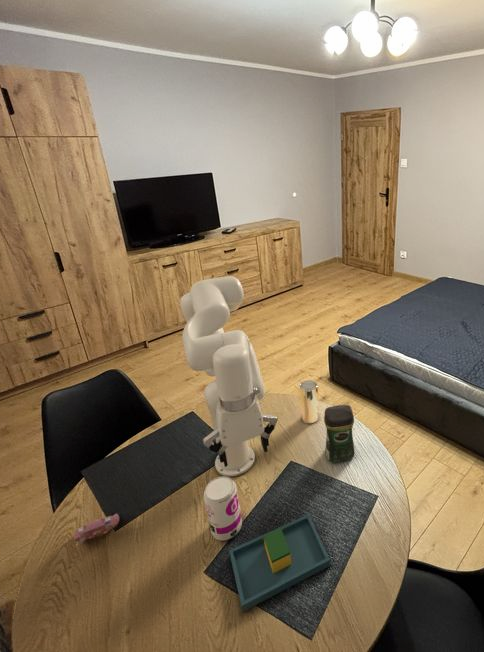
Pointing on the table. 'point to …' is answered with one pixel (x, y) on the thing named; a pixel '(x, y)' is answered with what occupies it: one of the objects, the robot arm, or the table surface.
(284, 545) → the sponge
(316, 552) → the tray
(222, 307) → the robot arm
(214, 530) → the supplement can
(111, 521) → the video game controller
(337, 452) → the coffee jar
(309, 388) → the silver metal cylinder
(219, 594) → the table surface
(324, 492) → the table surface
